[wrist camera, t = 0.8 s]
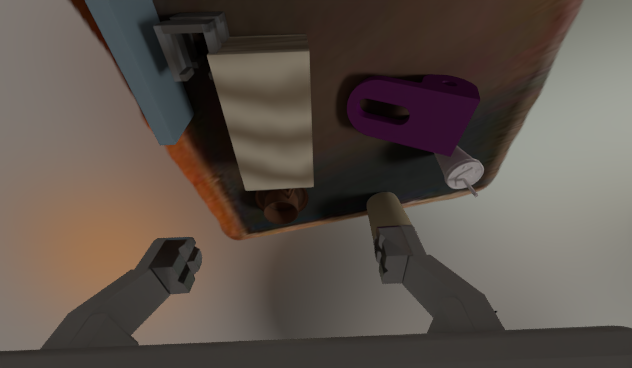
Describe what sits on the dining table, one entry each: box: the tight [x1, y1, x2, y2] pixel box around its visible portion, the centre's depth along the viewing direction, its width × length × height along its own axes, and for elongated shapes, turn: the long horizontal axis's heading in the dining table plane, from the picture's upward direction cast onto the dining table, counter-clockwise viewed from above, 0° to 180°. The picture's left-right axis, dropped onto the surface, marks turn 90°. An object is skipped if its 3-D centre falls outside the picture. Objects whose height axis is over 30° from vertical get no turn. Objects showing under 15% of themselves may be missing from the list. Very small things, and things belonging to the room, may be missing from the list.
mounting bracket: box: [347, 75, 480, 157], centre depth 43 cm, size 10×9×19 cm
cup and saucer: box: [255, 188, 308, 224], centre depth 55 cm, size 12×12×6 cm
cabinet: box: [153, 12, 314, 191], centre depth 39 cm, size 25×17×9 cm
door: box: [85, 0, 194, 145], centre depth 32 cm, size 23×4×10 cm, turn 1°
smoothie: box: [434, 146, 484, 197], centre depth 46 cm, size 6×6×14 cm
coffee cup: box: [367, 192, 417, 243], centre depth 58 cm, size 9×9×12 cm
